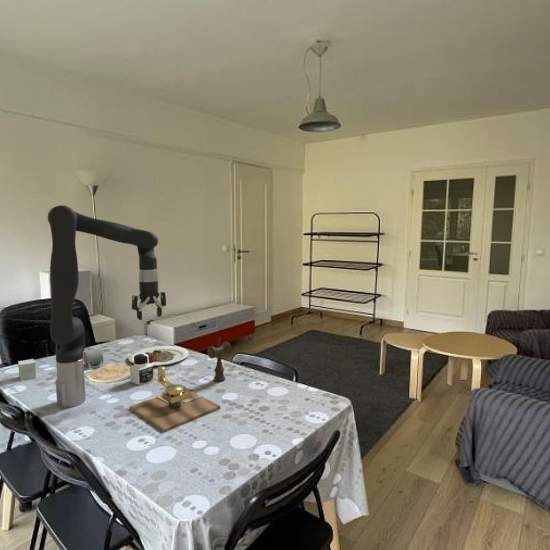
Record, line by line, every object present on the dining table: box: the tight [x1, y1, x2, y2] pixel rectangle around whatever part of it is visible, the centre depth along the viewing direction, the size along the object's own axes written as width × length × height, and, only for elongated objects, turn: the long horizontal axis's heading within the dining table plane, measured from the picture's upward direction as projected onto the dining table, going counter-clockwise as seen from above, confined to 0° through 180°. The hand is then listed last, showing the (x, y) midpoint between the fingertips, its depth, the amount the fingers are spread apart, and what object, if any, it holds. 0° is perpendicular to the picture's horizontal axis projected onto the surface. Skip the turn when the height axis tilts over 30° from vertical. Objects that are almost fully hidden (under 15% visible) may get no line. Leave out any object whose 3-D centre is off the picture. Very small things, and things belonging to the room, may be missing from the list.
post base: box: [129, 388, 221, 433], centre depth 148 cm, size 24×24×6 cm
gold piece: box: [157, 365, 188, 404], centre depth 150 cm, size 15×9×9 cm, turn 44°
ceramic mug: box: [83, 347, 104, 370], centre depth 191 cm, size 11×8×8 cm
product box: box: [17, 358, 37, 382], centre depth 176 cm, size 6×6×7 cm
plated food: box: [127, 345, 189, 367], centre depth 203 cm, size 30×30×3 cm
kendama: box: [206, 336, 232, 382], centre depth 174 cm, size 6×10×20 cm, turn 134°
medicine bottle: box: [129, 354, 154, 386], centre depth 173 cm, size 7×7×12 cm
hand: (149, 318), depth 165 cm, fingers open, 8 cm apart
